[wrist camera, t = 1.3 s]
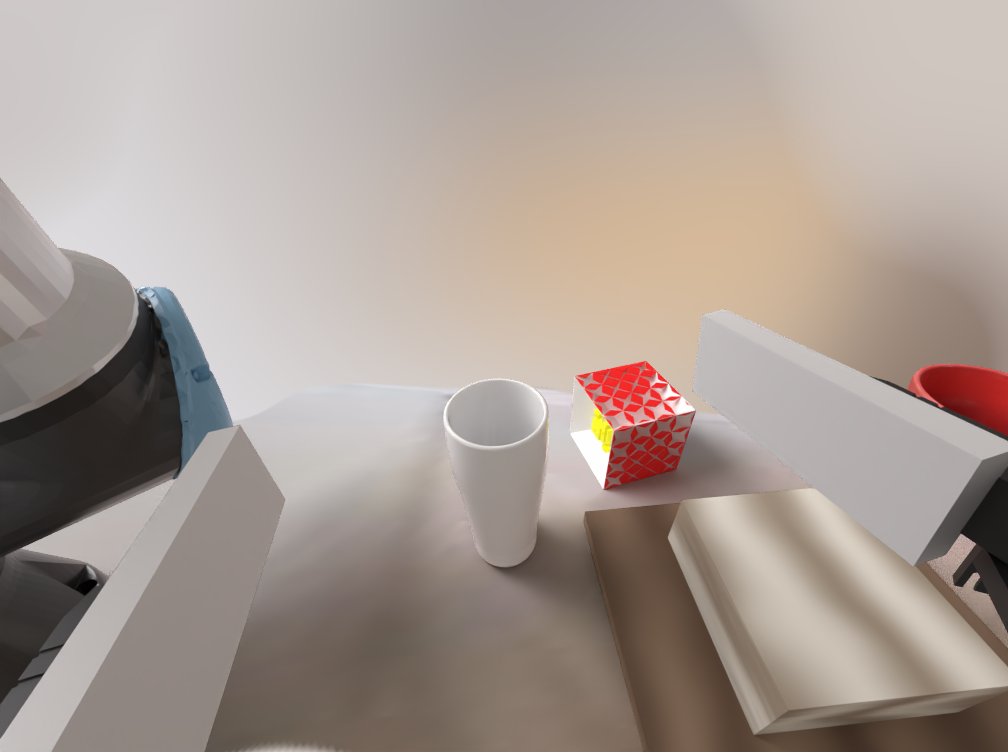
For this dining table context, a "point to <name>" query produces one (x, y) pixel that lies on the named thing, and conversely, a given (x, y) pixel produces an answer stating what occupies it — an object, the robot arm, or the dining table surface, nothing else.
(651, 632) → the display stand
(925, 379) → the flower pot
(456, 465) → the drinking glass
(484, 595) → the dining table surface
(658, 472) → the red patterned cube
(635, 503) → the dining table surface
